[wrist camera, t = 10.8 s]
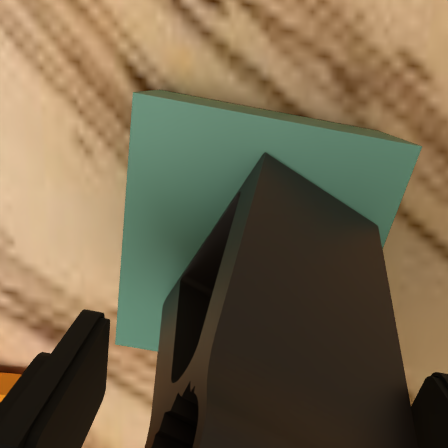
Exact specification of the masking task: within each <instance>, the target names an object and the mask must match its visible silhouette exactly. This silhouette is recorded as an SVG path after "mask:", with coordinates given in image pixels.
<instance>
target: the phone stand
mask: <svg viewBox="0 0 448 448" xmlns="http://www.w3.org/2000/svg"><path fill="white" fill-rule="evenodd" d="M145 448H418V443H417V438H416V433H415V427H414V422H413V416H412V411H411V405H410V400H409V394H408V389H407V383H406V378H405V372H404V367H403V361H402V355H401V350H400V344H399V339H398V333H397V328H396V322H395V317H394V311H393V306H392V300H391V295H390V289H389V283H388V278H387V272H386V267H385V261H384V256H383V250H382V245H381V239H380V234H379V228H378V225H376V224H375V223H373V222H372V221H370V220H369V219H367V218H366V217H364V216H362V215H361V214H359V213H358V212H356V211H355V210H353V209H352V208H350V207H349V206H347V205H346V204H344V203H343V202H341V201H339V200H338V199H336V198H335V197H333V196H332V195H330V194H329V193H327V192H326V191H324V190H323V189H321V188H319V187H318V186H316V185H315V184H313V183H312V182H310V181H309V180H307V179H306V178H304V177H303V176H301V175H300V174H298V173H296V172H295V171H293V170H292V169H290V168H289V167H287V166H286V165H284V164H283V163H281V162H280V161H278V160H277V159H275V158H273V157H272V156H270V155H269V154H267V153H266V152H265V153H264V154H263V155H262V156H261V158H260V159H259V161H258V162H257V164H256V165H255V167H254V168H253V170H252V171H251V173H250V174H249V175H248V177H247V178H246V180H245V181H244V183H243V184H242V186H241V187H240V189H239V190H238V192H237V193H236V195H235V196H234V198H233V199H232V201H231V202H230V204H229V205H228V207H227V208H226V210H225V211H224V213H223V214H222V216H221V217H220V219H219V220H218V222H217V223H216V225H215V226H214V228H213V229H212V231H211V233H210V235H209V236H207V238H206V239H205V241H204V242H203V244H202V245H201V247H200V248H199V250H198V251H197V253H196V254H195V256H194V257H193V259H192V260H191V262H190V263H189V265H188V266H187V268H186V269H185V271H184V272H183V274H182V275H181V277H180V278H179V280H178V281H177V283H176V284H175V286H174V287H173V288H172V290H171V291H170V293H169V294H168V296H167V298H166V299H165V301H164V303H163V308H162V317H161V327H160V337H159V346H158V356H157V366H156V375H155V385H154V394H153V404H152V414H151V421H150V427H149V432H148V437H147V441H146V445H145Z"/></svg>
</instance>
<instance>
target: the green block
mask: <svg viewBox="0 0 448 448" xmlns="http://www.w3.org/2000/svg"><path fill="white" fill-rule="evenodd" d="M421 148H422V146H419V145H417V144H414V143H411V142H408V141H405V140H403V139H400V138H397V137H394V136H391V135H389V134H386V133H383V132H380V131H377V130H372V129H366V128H361V127H356V126H350V125H345V124H340V123H334V122H329V121H324V120H318V119H313V118H308V117H302V116H297V115H292V114H286V113H281V112H276V111H270V110H265V109H260V108H254V107H249V106H244V105H238V104H233V103H228V102H222V101H217V100H212V99H206V98H201V97H196V96H190V95H185V94H180V93H174V92H169V91H164V90H152V91H142V92H133V100H132V114H131V128H130V142H129V156H128V171H127V185H126V199H125V213H124V227H123V242H122V256H121V270H120V284H119V298H118V312H117V327H116V341H115V344H116V345H122V346H128V347H134V348H140V349H146V350H152V351H158V346H159V337H160V327H161V317H162V308H163V303H164V301H165V299H166V298H167V296H168V294H169V293H170V291H171V290H172V288H173V287H174V286H175V284H176V283H177V281H178V280H179V278H180V277H181V275H182V274H183V272H184V271H185V269H186V268H187V266H188V265H189V263H190V262H191V260H192V259H193V257H194V256H195V254H196V253H197V251H198V250H199V248H200V247H201V245H202V244H203V242H204V241H205V239H206V238H207V236H209V235H210V233H211V231H212V229H213V228H214V226H215V225H216V223H217V222H218V220H219V219H220V217H221V216H222V214H223V213H224V211H225V210H226V208H227V207H228V205H229V204H230V202H231V201H232V199H233V198H234V196H235V195H236V193H237V192H238V190H239V189H240V187H241V186H242V184H243V183H244V181H245V180H246V178H247V177H248V175H249V174H250V173H251V171H252V170H253V168H254V167H255V165H256V164H257V162H258V161H259V159H260V158H261V156H262V155H263V154H264V153H265V152H266V153H267V154H269V155H270V156H272V157H273V158H275V159H277V160H278V161H280V162H281V163H283V164H284V165H286V166H287V167H289V168H290V169H292V170H293V171H295V172H296V173H298V174H300V175H301V176H303V177H304V178H306V179H307V180H309V181H310V182H312V183H313V184H315V185H316V186H318V187H319V188H321V189H323V190H324V191H326V192H327V193H329V194H330V195H332V196H333V197H335V198H336V199H338V200H339V201H341V202H343V203H344V204H346V205H347V206H349V207H350V208H352V209H353V210H355V211H356V212H358V213H359V214H361V215H362V216H364V217H366V218H367V219H369V220H370V221H372V222H373V223H375V224H376V225H378V228H379V234H380V239H381V245H382V249H383V246H384V244H385V241H386V238H387V236H388V233H389V231H390V228H391V226H392V223H393V220H394V218H395V215H396V213H397V210H398V208H399V205H400V202H401V200H402V197H403V195H404V192H405V190H406V187H407V184H408V182H409V179H410V177H411V174H412V172H413V169H414V166H415V164H416V161H417V159H418V156H419V154H420V151H421Z"/></svg>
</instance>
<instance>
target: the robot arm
mask: <svg viewBox="0 0 448 448" xmlns="http://www.w3.org/2000/svg"><path fill="white" fill-rule="evenodd" d="M109 331H110V320H109V319H105V318H104V313H102V312H96V311H90V310H85V309H84V310H82V312H81V313H80V314H79V316H78V317H77V318H76V320H75V321H74V322H73V324H72V325H71V327H70V328H69V329H68V331H67V332H66V334H65V335H64V336H63V338H62V339H61V341H60V342H59V343H58V345H57V346H56V347H55V349H54V350H53V352H52V353H51V354H50V353H45V352H41V353H40V354H38V355H37V356H36V357H35V358H34V359H33V361H32V362H31V363H30V365H29V366H28V367H27V369H26V370H25V371H24V372H23V374H22V375H21V376H20V378H19V379H18V380H17V382H16V383H15V384H14V385H13V387H12V388H11V389H10V391H9V392H8V393H7V395H6V396H5V397H4V398H3V400H2V401H1V402H0V448H81V447H82V445H83V443H84V441H85V438H86V436H87V434H88V432H89V429H90V427H91V425H92V423H93V421H94V418H95V416H96V414H97V412H98V409H99V407H100V405H101V403H102V400H103V397H104V394H105V390H106V377H107V361H108V346H109ZM411 411H412V416H413V422H414V427H415V433H416V438H417V443H418V448H448V374H444V373H438V372H435V373H433V374H432V375H431V376H428V377H427V378H426V379H425V381H424V383H423V385H422V386H421V388H420V390H419V392H418V394H417V396H416V398H415V400H414V402H413V404H412V406H411Z"/></svg>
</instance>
